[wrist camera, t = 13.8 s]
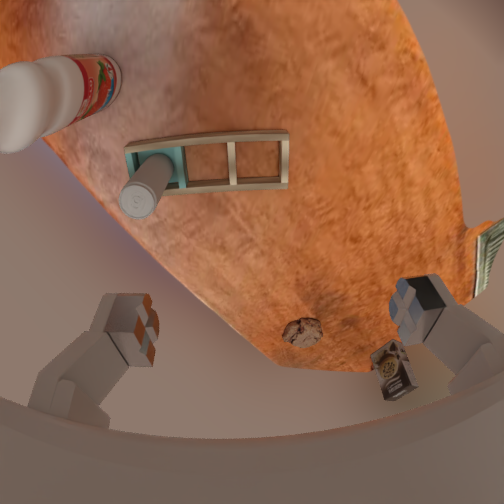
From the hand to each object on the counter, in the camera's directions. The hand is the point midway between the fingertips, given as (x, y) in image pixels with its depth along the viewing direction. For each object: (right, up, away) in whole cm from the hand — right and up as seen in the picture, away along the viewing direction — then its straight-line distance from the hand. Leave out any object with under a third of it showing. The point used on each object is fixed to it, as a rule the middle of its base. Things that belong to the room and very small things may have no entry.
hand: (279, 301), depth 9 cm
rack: (-8, +15, +32) cm, 36 cm away
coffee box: (+40, -28, +68) cm, 83 cm away
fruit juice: (-24, +26, +23) cm, 42 cm away
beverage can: (-15, +15, +32) cm, 38 cm away
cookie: (+12, -17, +58) cm, 62 cm away
